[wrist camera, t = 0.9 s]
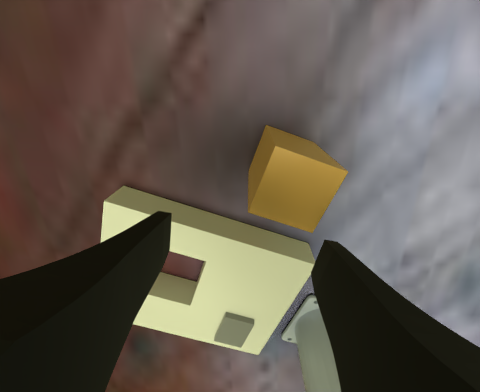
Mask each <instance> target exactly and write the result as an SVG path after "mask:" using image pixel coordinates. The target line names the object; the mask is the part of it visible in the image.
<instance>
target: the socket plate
mask: <svg viewBox="0 0 480 392" xmlns="http://www.w3.org/2000/svg"><path fill="white" fill-rule="evenodd" d="M157 211H163V212H169V213H172V219H171V237H170V249H169V251H172V252H175V253H179V254H182V255H186V256H189V257H193V258H196V259H199V260H203V261H204V263H203V266H202V269H201V272H200V275H199V277H198V280H197V282H195V281H191V280H188V279H184V278H181V277H177V276H173V275H170V274H166V273H163V272H160V273H159V275H158V277H157V279H156V281H155V283H154V284H153V286H152V288H151V290H150V292H149V294H148V296H147V297H146V299H145V301H144V303H143V305H142V307H141V308H140V310H139V312H138V314H137V316H136V318H135V320H134V322H133V324H135V325H139V326H143V327H147V328H151V329H155V330H159V331H163V332H167V333H171V334H175V335H179V336H183V337H187V338H192V339H196V340H200V341H204V342H208V343H212V344H216V345H220V346H224V347H228V348H232V349H236V350H240V351H244V352H248V353H252V354H256V355H258V354H259V353H260V351H261V350H262V348H263V347H264V345H265V344H266V342H267V341H268V339H269V337H270V336H271V334H272V333H273V331H274V330H275V328H276V327H277V325H278V324H279V322H280V321H281V319H282V317H283V316H284V314H285V313H286V311H287V310H288V308H289V307H290V305H291V304H292V302H293V301H294V299H295V298H296V296H297V294H298V293H299V291H300V290H301V288H302V287H303V285H304V284H305V282H306V281H307V279H308V278H309V276H310V274H311V271H312V269H313V266H314V264H315V260H314V257H313V254H312V252H311V249H310V246H309V244H308V243H306V242H303V241H299V240H296V239H293V238H290V237H287V236H283V235H280V234H277V233H274V232H271V231H267V230H264V229H261V228H258V227H255V226H251V225H248V224H245V223H242V222H239V221H235V220H232V219H229V218H226V217H222V216H219V215H216V214H213V213H210V212H206V211H203V210H200V209H197V208H194V207H190V206H187V205H184V204H181V203H178V202H174V201H171V200H168V199H165V198H162V197H158V196H155V195H152V194H149V193H146V192H142V191H139V190H136V189H133V188H130V187H126V186H123V187H121V188H120V189H119V190H117V191H116V192H115V193H114V194H112V195H111V196H110V197H108V198H107V199H106V200H105V201H104V208H103V220H102V232H101V242H103V241H105V240H107V239H109V238H111V237H113V236H115V235H117V234H119V233H121V232H123V231H124V230H126V229H128V228H130V227H131V226H133V225H135V224H137V223H138V222H140V221H142V220H143V219H145V218H147V217H148V216H150V215H152V214H154V213H155V212H157Z"/></svg>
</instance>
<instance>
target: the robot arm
mask: <svg viewBox="0 0 480 392" xmlns="http://www.w3.org/2000/svg"><path fill="white" fill-rule="evenodd" d="M171 219H172V213H169V212H163V211H157V212H155V213H154V214H152V215H150V216H148V217H147V218H145V219H143V220H142V221H140V222H138V223H137V224H135V225H133V226H131V227H130V228H128V229H126V230H124V231H123V232H121V233H119V234H117V235H115V236H113V237H111V238H109V239H107V240H105V241H103V242H101V243H99V244H97V245H95V246H93V247H90V248H88V249H86V250H83V251H81V252H79V253H76V254H74V255H71V256H69V257H66V258H64V259H61V260H58V261H55V262H52V263H49V264H47V265H44V266H41V267H38V268H35V269H32V270H29V271H26V272H23V273H19V274H16V275H13V276H10V277H6V278H3V279H0V392H105V390H106V387H107V385H108V382H109V379H110V377H111V374H112V372H113V370H114V367H115V365H116V362H117V360H118V357H119V355H120V353H121V350H122V348H123V345H124V343H125V341H126V338H127V336H128V334H129V331H130V329H131V327H132V324H133V322H134V320H135V318H136V316H137V314H138V312H139V310H140V308H141V307H142V305H143V303H144V301H145V299H146V297H147V296H148V294H149V292H150V290H151V288H152V286H153V284H154V283H155V281H156V279H157V277H158V275H159V273H160V271H161V269H162V268H163V265H164V263H165V260H166V257H167V255H168V252H169V249H170V237H171ZM311 275H312V282H313V287H314V293H315V296H314V295H310V296H308V297H307V298H306V300H305V301H304V303H303V304H302V305H301V307H300V308H299V310H298V311H297V313H296V314H295V316H294V317H293V319H292V320H291V322H290V323H289V325H288V326H287V327H286V329H285V330H284V332H283V333H282V335H281V337H282V340H284V341H288V342H292V343H296V344H297V347H298V352H299V358H300V363H301V369H302V374H303V379H304V385H305V390H306V392H480V348H479V347H478V346H476V345H474V344H473V343H471V342H469V341H468V340H466V339H465V338H463V337H461V336H460V335H458V334H457V333H455V332H454V331H452V330H450V329H449V328H447V327H446V326H444V325H442V324H441V323H440V322H438V321H437V320H435V319H434V318H432V317H431V316H429V315H428V314H426V313H425V312H424V311H422V310H421V309H419V308H418V307H416V306H415V305H414V304H412V303H411V302H410V301H408V300H407V299H406V298H404V297H403V296H402V295H400V294H399V293H398V292H397V291H395V290H394V289H393V288H392V287H390V286H389V285H388V284H387V283H385V282H384V281H383V280H382V279H381V278H379V277H378V276H377V275H376V274H375V273H373V272H372V271H371V270H370V269H369V268H368V267H367V266H365V265H364V264H363V263H362V262H361V261H360V260H359V259H357V258H356V257H355V256H354V255H353V254H352V253H351V252H349V251H348V250H347V249H346V248H345V247H343V246H342V245H341V244H340V243H338V242H335V241H329V240H324V243H323V245H322V247H321V250H320V252H319V255H318V257H317V259H316V262H315V264H314V266H313V269H312V271H311Z"/></svg>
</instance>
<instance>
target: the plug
mask: <svg viewBox="0 0 480 392" xmlns="http://www.w3.org/2000/svg"><path fill="white" fill-rule="evenodd" d="M347 173H348V171H347V170H346V169H344V168H343V167H342V166H341V165H340V164H339V163H337V162H336V161H335V160H334V159H333V158H332V157H330V156H329V155H328V154H327V153H326V152H324V151H323V150H322V149H321V148H320V147H319V146H317V145H316V144H315V143H314V142H312V141H309V140H306V139H304V138H301V137H298V136H295V135H293V134H290V133H287V132H284V131H282V130H279V129H276V128H274V127H271V126H268V125H266V126H265V129H264V132H263V134H262V137H261V140H260V142H259V145H258V148H257V150H256V153H255V155H254V158H253V161H252V163H251V166H250V169H249V174H248V213H252V214H255V215H258V216H261V217H264V218H267V219H270V220H274V221H277V222H280V223H283V224H286V225H289V226H292V227H296V228H299V229H302V230H305V231H308V232H311V233H313V231H314V229H315V228H316V226H317V224H318V223H319V221H320V219H321V217H322V216H323V214H324V212H325V211H326V209H327V207H328V206H329V204H330V202H331V200H332V199H333V197H334V195H335V194H336V192H337V190H338V189H339V187H340V185H341V183H342V182H343V180H344V178H345V177H346V175H347Z"/></svg>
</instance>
